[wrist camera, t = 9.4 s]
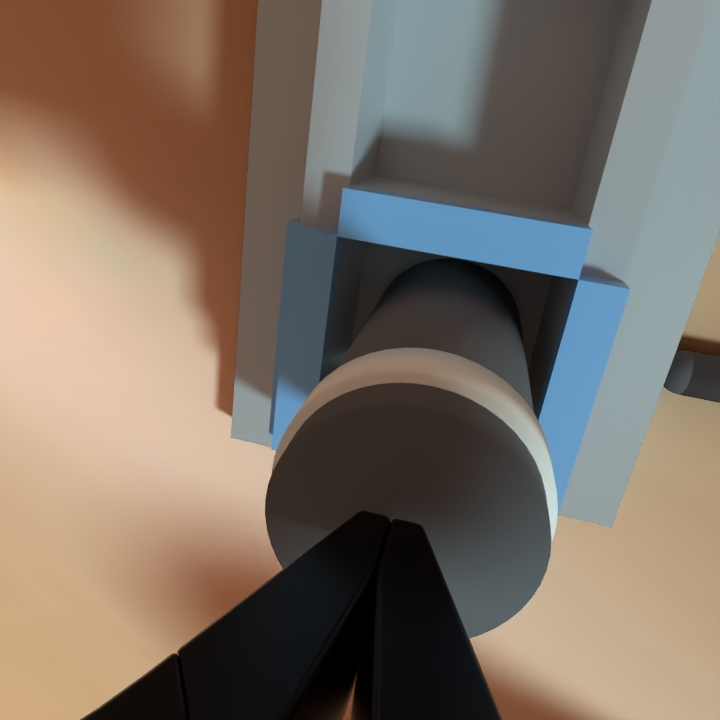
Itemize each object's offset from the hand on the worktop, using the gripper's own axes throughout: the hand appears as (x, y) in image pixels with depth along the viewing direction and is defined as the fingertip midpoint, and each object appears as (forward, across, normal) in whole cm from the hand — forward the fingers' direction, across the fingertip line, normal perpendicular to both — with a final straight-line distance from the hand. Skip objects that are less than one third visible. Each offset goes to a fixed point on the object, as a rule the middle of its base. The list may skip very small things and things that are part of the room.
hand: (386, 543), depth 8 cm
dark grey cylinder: (+9, 0, 0) cm, 9 cm away
